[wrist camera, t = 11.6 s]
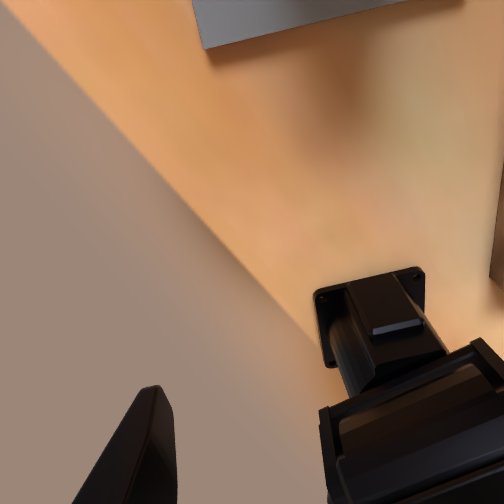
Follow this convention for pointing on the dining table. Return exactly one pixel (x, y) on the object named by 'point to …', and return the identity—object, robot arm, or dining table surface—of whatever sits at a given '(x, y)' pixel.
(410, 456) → the robot arm
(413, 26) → the dining table surface
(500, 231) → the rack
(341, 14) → the mat
